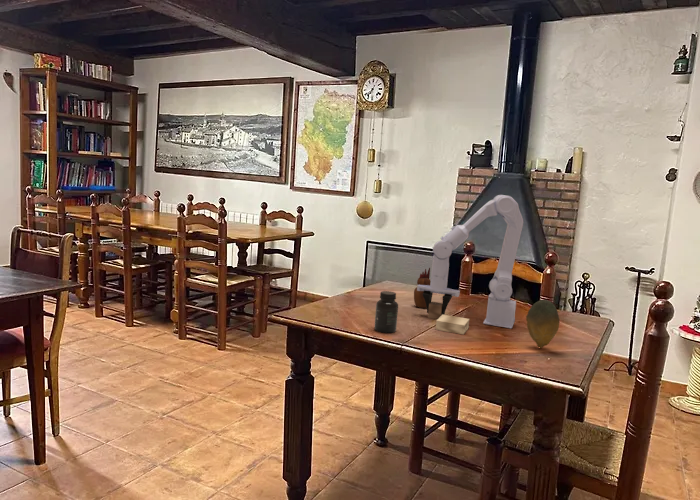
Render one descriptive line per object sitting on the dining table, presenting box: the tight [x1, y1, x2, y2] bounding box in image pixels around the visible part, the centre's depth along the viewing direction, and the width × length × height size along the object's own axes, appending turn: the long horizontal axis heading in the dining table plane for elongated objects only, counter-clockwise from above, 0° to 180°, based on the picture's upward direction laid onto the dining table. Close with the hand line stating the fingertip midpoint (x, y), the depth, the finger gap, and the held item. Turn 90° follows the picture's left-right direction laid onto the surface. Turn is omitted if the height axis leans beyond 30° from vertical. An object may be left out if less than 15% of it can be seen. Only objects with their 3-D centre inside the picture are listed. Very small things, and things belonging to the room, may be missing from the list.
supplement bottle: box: [374, 290, 399, 334], centre depth 164 cm, size 7×7×12 cm
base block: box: [435, 314, 470, 335], centre depth 171 cm, size 9×9×3 cm
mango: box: [525, 299, 561, 349], centre depth 156 cm, size 10×6×15 cm, turn 48°
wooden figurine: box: [413, 267, 431, 309], centre depth 197 cm, size 7×6×15 cm
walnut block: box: [427, 301, 443, 320], centre depth 183 cm, size 4×4×5 cm
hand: (435, 313), depth 184 cm, fingers closed on walnut block, 4 cm apart
